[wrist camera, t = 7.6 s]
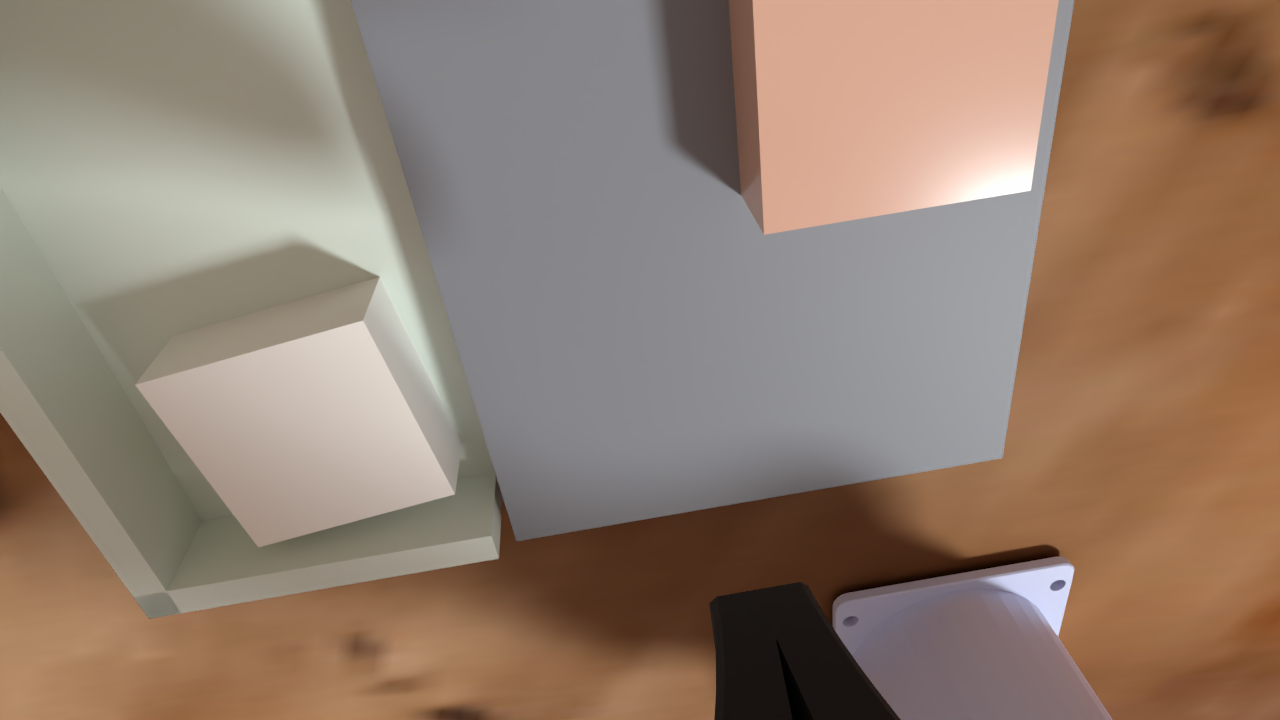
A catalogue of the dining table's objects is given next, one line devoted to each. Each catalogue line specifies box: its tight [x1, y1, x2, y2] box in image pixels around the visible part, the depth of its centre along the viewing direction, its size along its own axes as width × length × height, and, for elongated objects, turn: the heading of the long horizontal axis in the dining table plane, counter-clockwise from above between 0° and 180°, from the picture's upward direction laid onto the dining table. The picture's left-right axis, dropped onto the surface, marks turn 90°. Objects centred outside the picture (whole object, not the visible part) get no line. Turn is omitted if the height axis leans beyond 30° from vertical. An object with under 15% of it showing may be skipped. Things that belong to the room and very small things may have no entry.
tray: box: [0, 0, 503, 619], centre depth 17 cm, size 15×9×3 cm, turn 8°
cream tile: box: [135, 277, 462, 547], centre depth 18 cm, size 5×5×2 cm
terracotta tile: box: [729, 0, 1059, 235], centre depth 14 cm, size 5×5×2 cm
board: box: [351, 0, 1074, 541], centre depth 18 cm, size 15×13×2 cm
